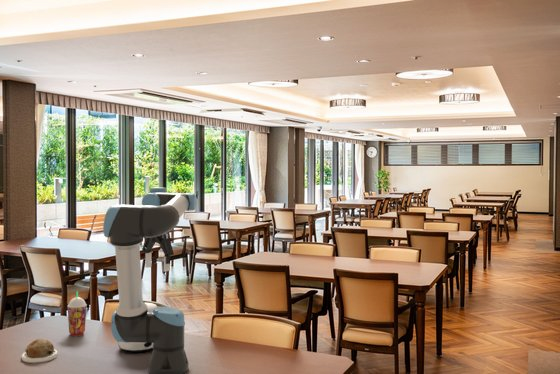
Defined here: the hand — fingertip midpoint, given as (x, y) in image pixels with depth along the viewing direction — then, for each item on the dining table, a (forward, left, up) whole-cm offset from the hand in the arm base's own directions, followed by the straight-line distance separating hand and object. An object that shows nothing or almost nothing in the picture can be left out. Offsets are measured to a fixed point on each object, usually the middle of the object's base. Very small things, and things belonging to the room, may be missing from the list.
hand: (157, 269), depth 250 cm
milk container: (-5, +13, -32) cm, 35 cm away
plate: (+14, +47, -32) cm, 58 cm away
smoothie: (+32, +21, -32) cm, 50 cm away
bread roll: (+14, +47, -31) cm, 58 cm away
